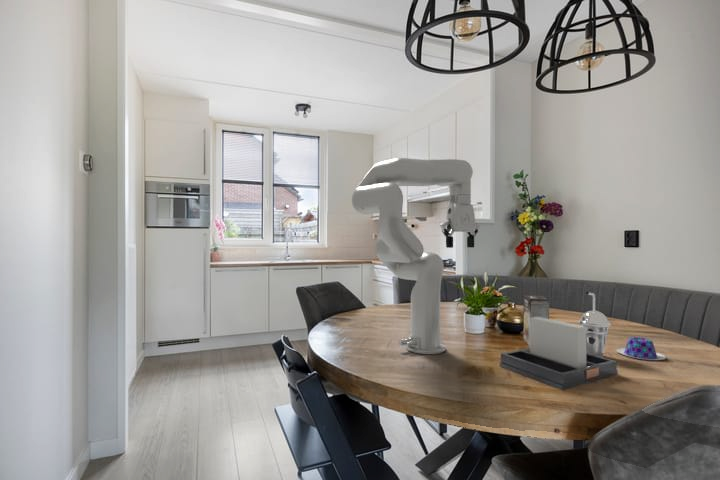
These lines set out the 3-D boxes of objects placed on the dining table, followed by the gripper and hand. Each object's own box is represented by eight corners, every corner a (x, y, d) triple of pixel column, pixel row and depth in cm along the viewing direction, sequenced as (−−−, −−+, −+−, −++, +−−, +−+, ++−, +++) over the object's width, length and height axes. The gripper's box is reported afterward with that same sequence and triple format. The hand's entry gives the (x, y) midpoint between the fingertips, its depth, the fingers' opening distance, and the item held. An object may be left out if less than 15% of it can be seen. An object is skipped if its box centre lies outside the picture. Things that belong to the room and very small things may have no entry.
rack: (563, 390, 85) (563, 375, 85) (499, 366, 101) (499, 353, 102) (619, 374, 95) (618, 361, 95) (552, 354, 112) (552, 343, 112)
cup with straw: (618, 359, 108) (618, 292, 108) (593, 361, 106) (592, 292, 106) (594, 350, 116) (594, 288, 116) (570, 352, 114) (570, 289, 114)
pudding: (610, 354, 114) (609, 337, 114) (626, 348, 120) (625, 332, 120) (657, 365, 104) (657, 346, 104) (671, 357, 110) (671, 340, 110)
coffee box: (522, 339, 130) (522, 294, 130) (542, 340, 128) (542, 295, 128) (529, 346, 121) (529, 298, 121) (550, 348, 119) (550, 299, 119)
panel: (577, 375, 91) (577, 328, 92) (529, 359, 104) (529, 317, 104) (586, 373, 93) (586, 326, 93) (538, 357, 106) (537, 316, 106)
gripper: (447, 198, 125) (447, 247, 125) (485, 200, 133) (485, 247, 133) (434, 200, 132) (434, 247, 132) (471, 202, 139) (471, 247, 139)
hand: (460, 247), depth 132 cm, fingers open, 9 cm apart
